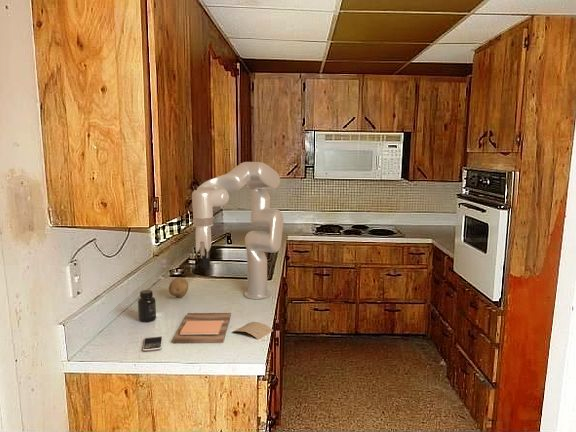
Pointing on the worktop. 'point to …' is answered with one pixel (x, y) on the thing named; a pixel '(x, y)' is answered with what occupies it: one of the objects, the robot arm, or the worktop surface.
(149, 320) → the supplement bottle
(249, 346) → the worktop surface
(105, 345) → the worktop surface
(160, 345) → the cell phone
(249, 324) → the clay tablet
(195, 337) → the walnut board
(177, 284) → the natural sponge
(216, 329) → the ceramic tile
